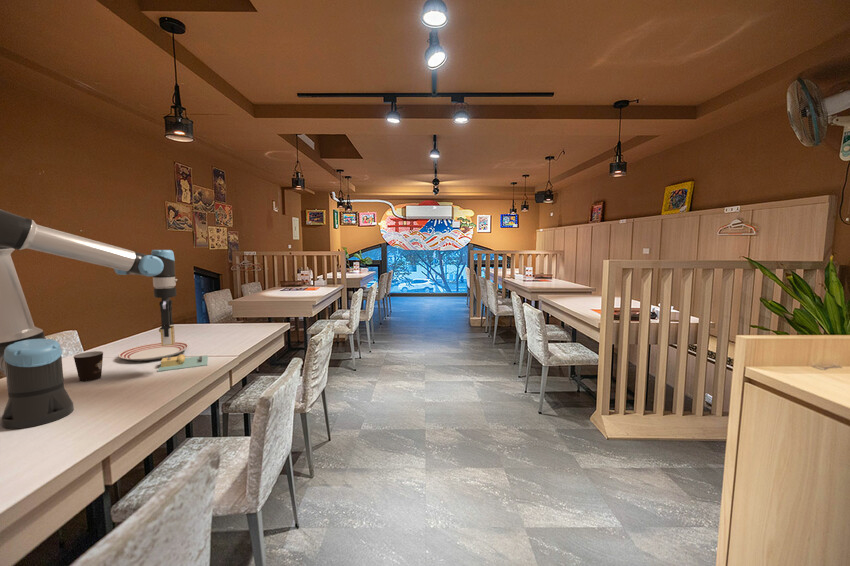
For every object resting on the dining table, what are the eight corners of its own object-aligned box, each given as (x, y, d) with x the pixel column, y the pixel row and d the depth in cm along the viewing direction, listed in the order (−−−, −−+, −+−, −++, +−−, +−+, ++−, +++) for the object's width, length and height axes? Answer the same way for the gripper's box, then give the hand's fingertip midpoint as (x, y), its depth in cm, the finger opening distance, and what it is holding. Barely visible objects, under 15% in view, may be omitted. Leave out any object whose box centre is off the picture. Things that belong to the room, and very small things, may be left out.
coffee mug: (87, 383, 139) (85, 358, 138) (69, 381, 141) (67, 356, 140) (118, 373, 150) (116, 350, 149) (101, 371, 152) (99, 348, 151)
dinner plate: (153, 366, 161) (153, 359, 160) (102, 362, 166) (102, 355, 165) (202, 349, 187) (201, 343, 187) (157, 346, 192) (156, 340, 192)
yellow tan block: (173, 344, 149) (172, 328, 149) (159, 346, 147) (158, 329, 146) (174, 341, 155) (173, 325, 154) (161, 343, 152) (160, 326, 152)
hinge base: (207, 365, 162) (206, 357, 161) (157, 371, 153) (157, 363, 152) (207, 356, 176) (207, 348, 175) (162, 361, 166) (161, 353, 166)
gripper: (173, 289, 142) (177, 346, 145) (178, 284, 159) (180, 336, 161) (150, 290, 139) (153, 349, 141) (156, 285, 155) (160, 338, 157)
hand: (168, 342), depth 151 cm, fingers closed on yellow tan block, 6 cm apart
